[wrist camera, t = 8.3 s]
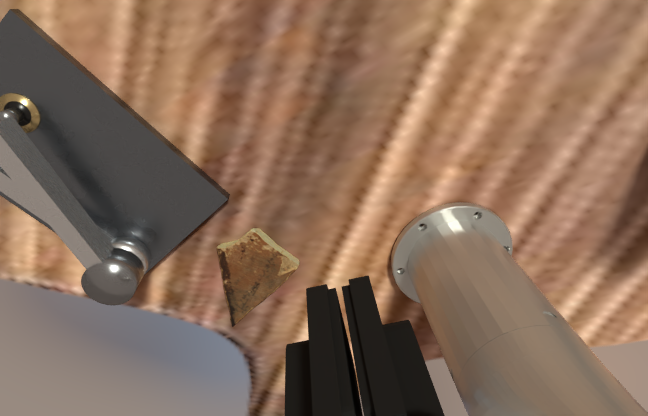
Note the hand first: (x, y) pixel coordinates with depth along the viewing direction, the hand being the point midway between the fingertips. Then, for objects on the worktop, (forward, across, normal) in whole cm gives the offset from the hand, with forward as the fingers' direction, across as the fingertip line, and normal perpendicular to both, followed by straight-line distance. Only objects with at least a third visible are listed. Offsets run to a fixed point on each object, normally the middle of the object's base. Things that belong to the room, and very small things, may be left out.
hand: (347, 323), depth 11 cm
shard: (+28, +9, +17) cm, 34 cm away
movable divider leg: (+26, +22, +4) cm, 34 cm away
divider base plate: (+27, +20, +1) cm, 34 cm away
